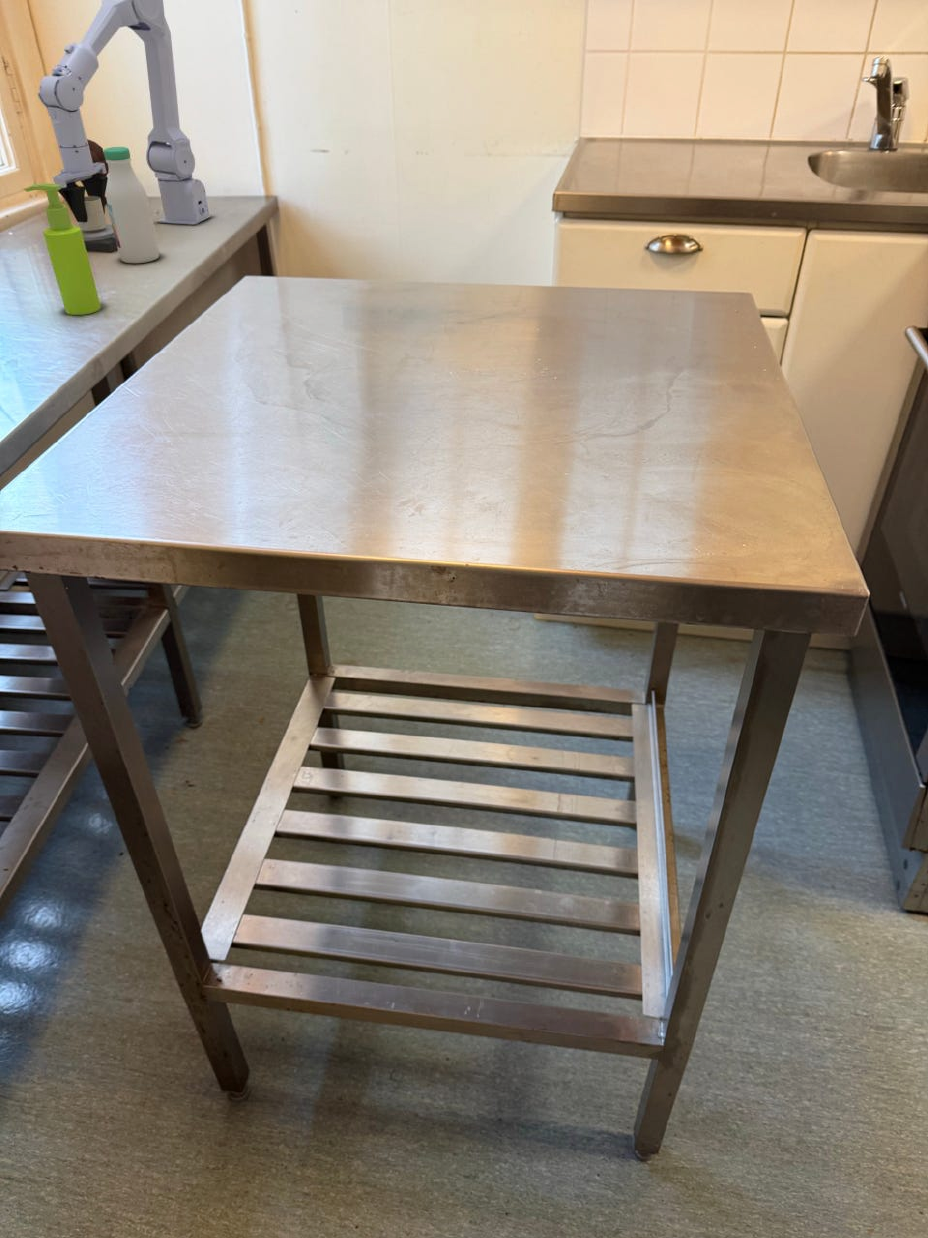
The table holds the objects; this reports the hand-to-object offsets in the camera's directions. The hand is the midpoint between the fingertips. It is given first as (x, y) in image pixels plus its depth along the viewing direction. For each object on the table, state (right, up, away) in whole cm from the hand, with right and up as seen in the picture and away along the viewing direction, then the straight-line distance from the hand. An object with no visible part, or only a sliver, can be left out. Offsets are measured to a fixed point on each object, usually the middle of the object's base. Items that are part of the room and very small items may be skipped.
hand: (91, 217), depth 187 cm
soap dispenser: (+11, -30, -31) cm, 44 cm away
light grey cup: (0, -1, +1) cm, 2 cm away
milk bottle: (+13, -11, -6) cm, 18 cm away
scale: (0, -4, +3) cm, 5 cm away
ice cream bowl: (-13, +19, +33) cm, 40 cm away
